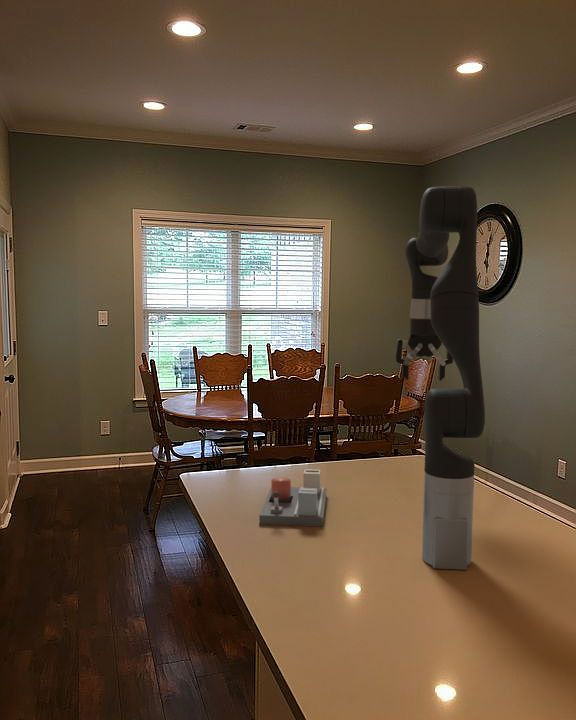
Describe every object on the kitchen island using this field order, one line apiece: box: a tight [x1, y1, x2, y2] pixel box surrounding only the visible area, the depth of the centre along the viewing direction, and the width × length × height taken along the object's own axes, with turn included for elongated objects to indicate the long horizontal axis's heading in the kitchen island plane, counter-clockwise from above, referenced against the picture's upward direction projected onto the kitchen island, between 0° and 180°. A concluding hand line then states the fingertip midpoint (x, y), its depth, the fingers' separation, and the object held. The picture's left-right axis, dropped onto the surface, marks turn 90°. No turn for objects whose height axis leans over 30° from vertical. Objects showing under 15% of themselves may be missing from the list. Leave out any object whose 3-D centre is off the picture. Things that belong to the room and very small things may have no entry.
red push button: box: [270, 477, 292, 500], centre depth 154 cm, size 5×5×4 cm
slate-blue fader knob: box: [298, 487, 317, 516], centre depth 144 cm, size 4×4×5 cm
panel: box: [258, 486, 327, 528], centre depth 152 cm, size 22×14×7 cm, turn 174°
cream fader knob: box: [302, 468, 321, 494], centre depth 160 cm, size 4×4×5 cm
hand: (423, 379), depth 166 cm, fingers open, 8 cm apart
